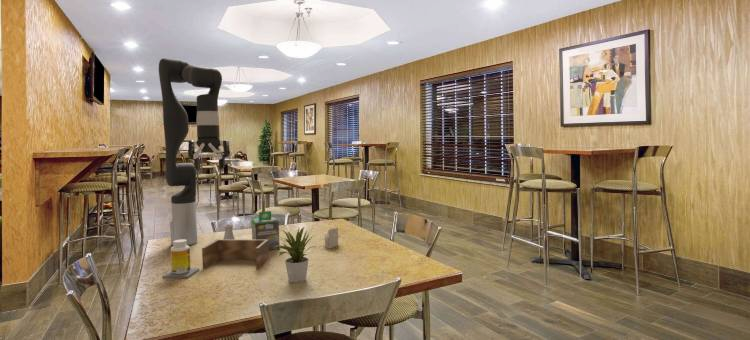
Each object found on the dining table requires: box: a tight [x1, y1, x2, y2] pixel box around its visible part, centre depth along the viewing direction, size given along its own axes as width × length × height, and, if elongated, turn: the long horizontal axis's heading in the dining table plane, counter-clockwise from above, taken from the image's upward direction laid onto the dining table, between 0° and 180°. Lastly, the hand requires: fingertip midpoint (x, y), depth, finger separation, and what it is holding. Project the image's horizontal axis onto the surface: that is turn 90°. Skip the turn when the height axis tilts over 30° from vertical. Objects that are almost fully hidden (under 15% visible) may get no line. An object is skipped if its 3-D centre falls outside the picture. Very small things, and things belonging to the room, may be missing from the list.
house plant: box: [274, 226, 317, 283], centre depth 133 cm, size 14×14×16 cm
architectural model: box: [322, 226, 340, 249], centre depth 173 cm, size 3×7×7 cm, turn 145°
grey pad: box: [162, 267, 200, 279], centre depth 139 cm, size 8×8×1 cm
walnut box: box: [201, 239, 270, 270], centre depth 150 cm, size 19×12×7 cm, turn 88°
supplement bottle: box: [170, 239, 191, 274], centre depth 139 cm, size 6×6×10 cm
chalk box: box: [250, 210, 281, 252], centre depth 169 cm, size 9×9×15 cm
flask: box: [222, 224, 236, 240], centre depth 166 cm, size 7×7×10 cm
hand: (209, 169), depth 156 cm, fingers open, 8 cm apart
